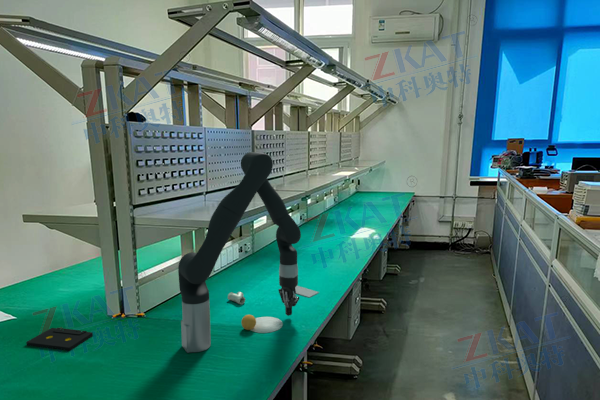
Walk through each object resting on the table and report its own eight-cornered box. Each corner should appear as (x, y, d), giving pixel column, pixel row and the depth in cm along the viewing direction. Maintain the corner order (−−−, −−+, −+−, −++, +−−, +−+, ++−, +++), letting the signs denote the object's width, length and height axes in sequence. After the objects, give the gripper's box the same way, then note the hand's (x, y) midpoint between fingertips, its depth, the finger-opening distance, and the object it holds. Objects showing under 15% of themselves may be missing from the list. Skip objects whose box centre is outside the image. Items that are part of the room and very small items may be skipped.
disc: (257, 336, 151) (257, 335, 151) (241, 322, 163) (241, 322, 163) (289, 327, 159) (289, 326, 159) (271, 314, 171) (271, 314, 170)
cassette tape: (93, 337, 152) (92, 331, 152) (69, 352, 141) (69, 346, 140) (52, 332, 156) (51, 327, 155) (26, 347, 145) (25, 341, 144)
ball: (252, 334, 155) (242, 328, 152) (246, 329, 160) (236, 322, 157) (261, 321, 157) (251, 315, 154) (254, 316, 161) (244, 310, 158)
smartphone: (309, 297, 189) (284, 289, 198) (309, 299, 189) (284, 291, 198) (319, 292, 195) (295, 284, 204) (319, 294, 195) (295, 286, 204)
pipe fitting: (239, 298, 190) (227, 301, 185) (239, 289, 190) (227, 292, 185) (250, 302, 185) (239, 305, 180) (250, 294, 185) (239, 297, 180)
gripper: (272, 271, 168) (272, 311, 170) (289, 280, 157) (289, 323, 159) (287, 268, 172) (288, 307, 174) (305, 276, 161) (305, 318, 163)
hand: (288, 314), depth 167 cm, fingers closed
